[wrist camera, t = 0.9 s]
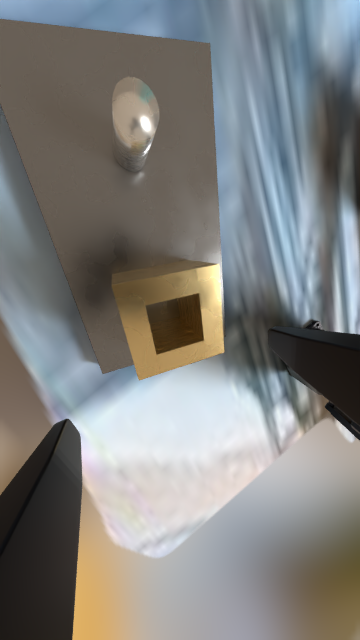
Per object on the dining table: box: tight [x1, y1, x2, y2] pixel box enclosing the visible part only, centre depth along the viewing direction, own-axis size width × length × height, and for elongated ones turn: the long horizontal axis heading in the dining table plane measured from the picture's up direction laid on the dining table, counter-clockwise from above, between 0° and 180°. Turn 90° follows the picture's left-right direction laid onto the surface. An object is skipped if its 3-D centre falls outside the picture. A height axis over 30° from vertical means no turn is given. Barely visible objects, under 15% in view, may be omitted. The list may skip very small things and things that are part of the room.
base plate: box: [0, 19, 226, 374], centre depth 13 cm, size 20×12×6 cm, turn 8°
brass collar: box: [111, 260, 224, 380], centre depth 13 cm, size 6×6×5 cm
